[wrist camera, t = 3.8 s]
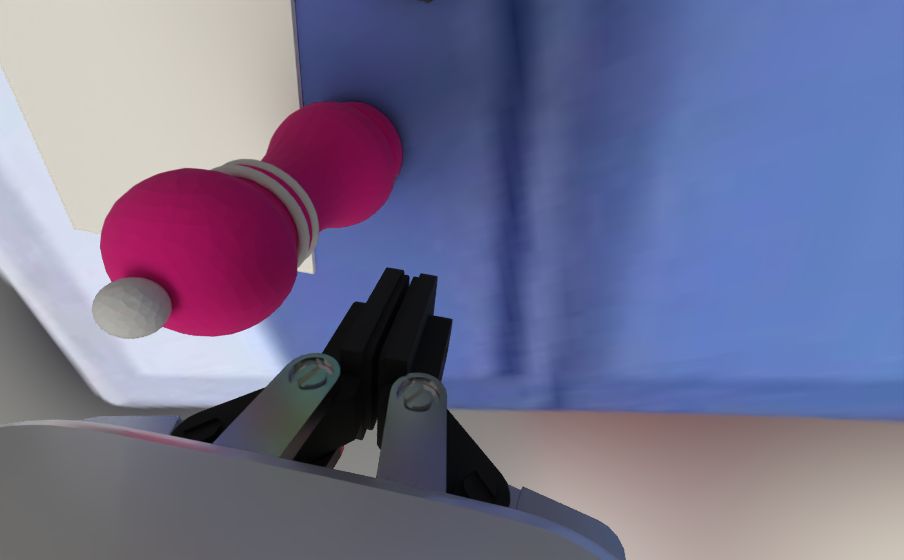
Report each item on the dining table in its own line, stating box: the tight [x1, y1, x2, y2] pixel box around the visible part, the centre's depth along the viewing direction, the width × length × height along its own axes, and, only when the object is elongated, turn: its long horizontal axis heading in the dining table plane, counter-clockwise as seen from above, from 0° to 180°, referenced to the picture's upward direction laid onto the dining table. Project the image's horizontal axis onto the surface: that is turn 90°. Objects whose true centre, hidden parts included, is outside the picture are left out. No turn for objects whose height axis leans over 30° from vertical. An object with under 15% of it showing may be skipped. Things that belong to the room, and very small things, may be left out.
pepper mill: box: [92, 101, 403, 339], centre depth 19 cm, size 7×7×20 cm
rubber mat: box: [0, 0, 316, 274], centre depth 28 cm, size 22×22×1 cm
